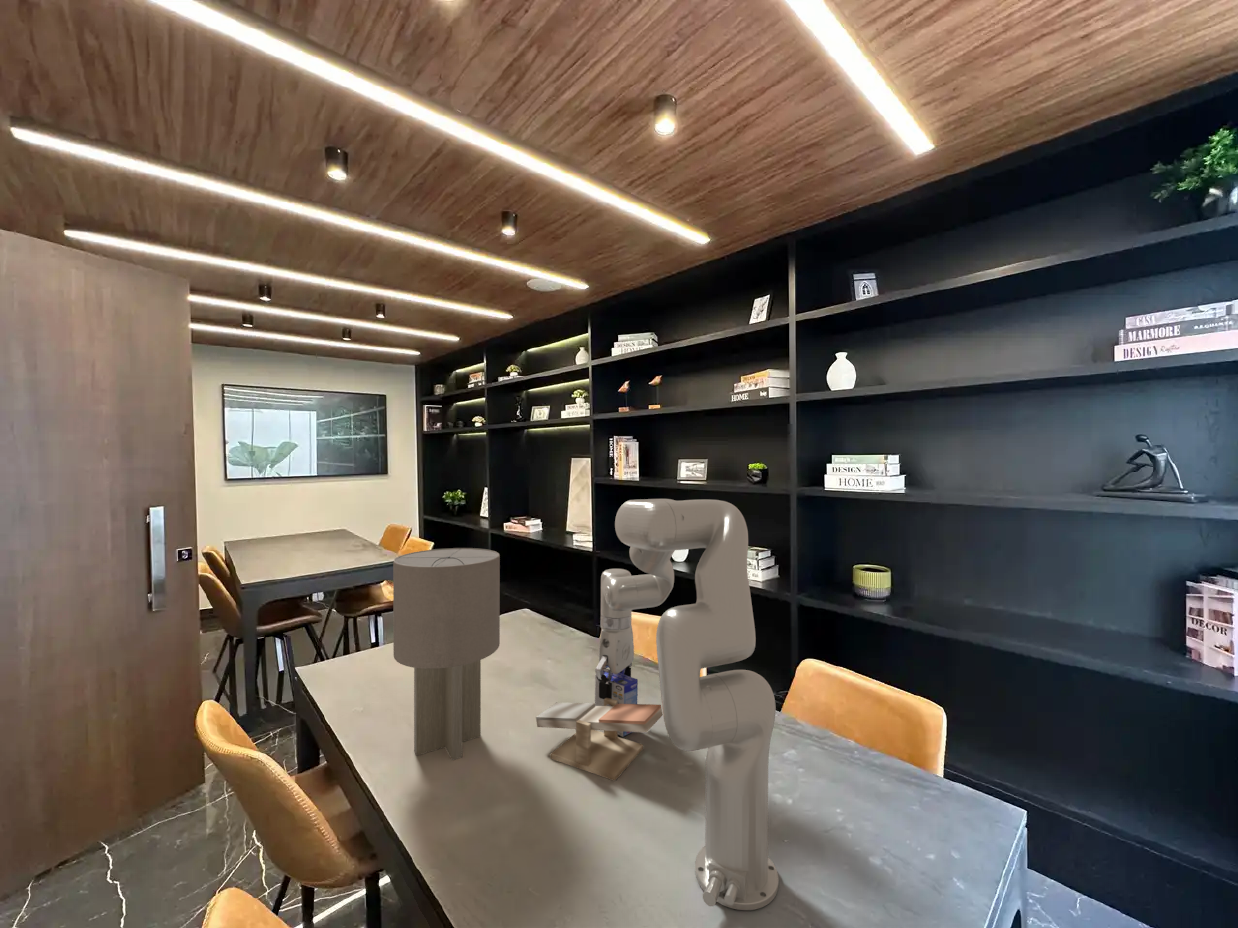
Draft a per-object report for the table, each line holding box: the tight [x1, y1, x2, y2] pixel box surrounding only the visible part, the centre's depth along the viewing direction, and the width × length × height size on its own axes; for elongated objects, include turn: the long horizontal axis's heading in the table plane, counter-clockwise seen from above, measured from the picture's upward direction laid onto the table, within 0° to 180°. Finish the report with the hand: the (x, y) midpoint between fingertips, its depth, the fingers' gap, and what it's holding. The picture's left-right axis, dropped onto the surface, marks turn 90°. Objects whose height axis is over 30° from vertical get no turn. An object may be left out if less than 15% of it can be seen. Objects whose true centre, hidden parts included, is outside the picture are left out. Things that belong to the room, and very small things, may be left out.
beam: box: [535, 701, 663, 733], centre depth 112 cm, size 28×10×2 cm, turn 61°
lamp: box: [392, 547, 501, 761], centre depth 116 cm, size 23×23×43 cm
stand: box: [550, 698, 644, 781], centre depth 112 cm, size 16×13×10 cm
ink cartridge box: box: [594, 668, 639, 738], centre depth 123 cm, size 10×6×14 cm, turn 49°
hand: (615, 690), depth 124 cm, fingers open, 9 cm apart
